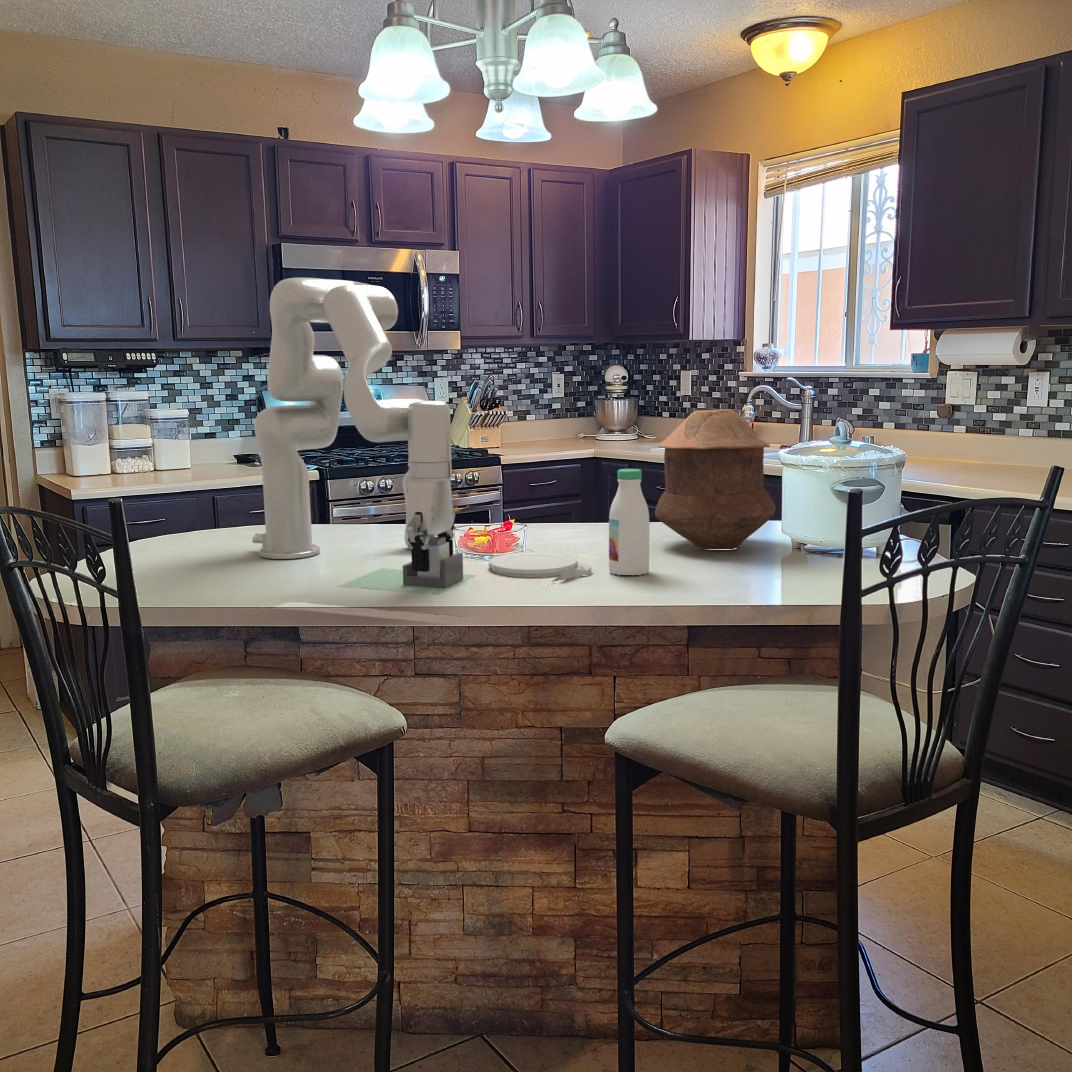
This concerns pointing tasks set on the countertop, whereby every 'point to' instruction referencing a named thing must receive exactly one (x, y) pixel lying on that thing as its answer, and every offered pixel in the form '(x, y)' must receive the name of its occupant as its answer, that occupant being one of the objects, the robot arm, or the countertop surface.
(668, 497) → the pottery vessel
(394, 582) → the board
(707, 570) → the countertop surface
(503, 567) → the lid
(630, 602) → the countertop surface
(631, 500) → the milk bottle
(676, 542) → the countertop surface
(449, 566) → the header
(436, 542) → the plug
